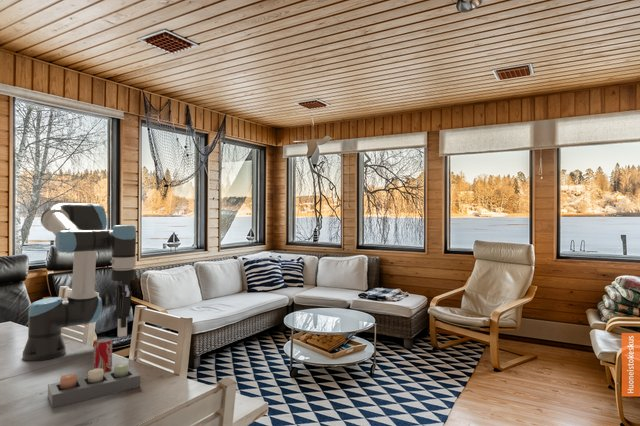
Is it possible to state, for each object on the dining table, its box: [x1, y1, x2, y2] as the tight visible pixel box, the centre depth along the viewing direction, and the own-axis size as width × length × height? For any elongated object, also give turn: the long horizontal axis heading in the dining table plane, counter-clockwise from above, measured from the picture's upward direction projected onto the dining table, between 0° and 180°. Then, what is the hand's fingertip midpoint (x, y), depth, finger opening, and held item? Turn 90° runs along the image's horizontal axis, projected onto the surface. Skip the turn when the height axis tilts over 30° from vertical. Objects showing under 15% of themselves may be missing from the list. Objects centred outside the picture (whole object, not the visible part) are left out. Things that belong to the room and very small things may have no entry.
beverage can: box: [92, 337, 113, 373], centre depth 157 cm, size 6×6×12 cm
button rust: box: [59, 373, 78, 389], centre depth 134 cm, size 5×5×3 cm
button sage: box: [113, 362, 130, 377], centre depth 144 cm, size 5×5×3 cm
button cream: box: [87, 368, 104, 383], centre depth 139 cm, size 5×5×3 cm
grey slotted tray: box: [47, 366, 141, 409], centre depth 139 cm, size 10×26×4 cm, turn 130°
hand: (122, 336), depth 144 cm, fingers closed
